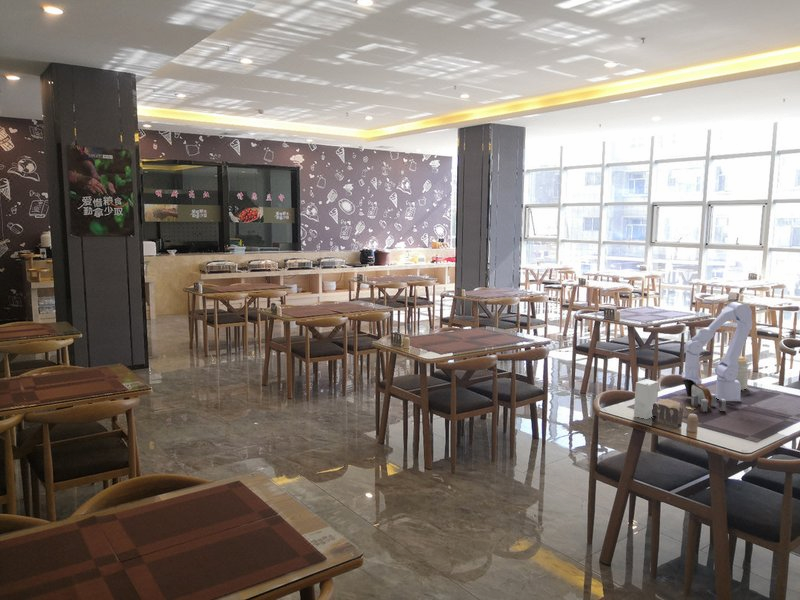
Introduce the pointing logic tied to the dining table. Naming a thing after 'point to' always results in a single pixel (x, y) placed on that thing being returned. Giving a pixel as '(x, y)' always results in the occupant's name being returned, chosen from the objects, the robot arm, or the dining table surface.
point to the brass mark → (691, 408)
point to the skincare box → (645, 398)
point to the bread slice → (701, 393)
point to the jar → (742, 372)
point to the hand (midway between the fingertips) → (690, 396)
